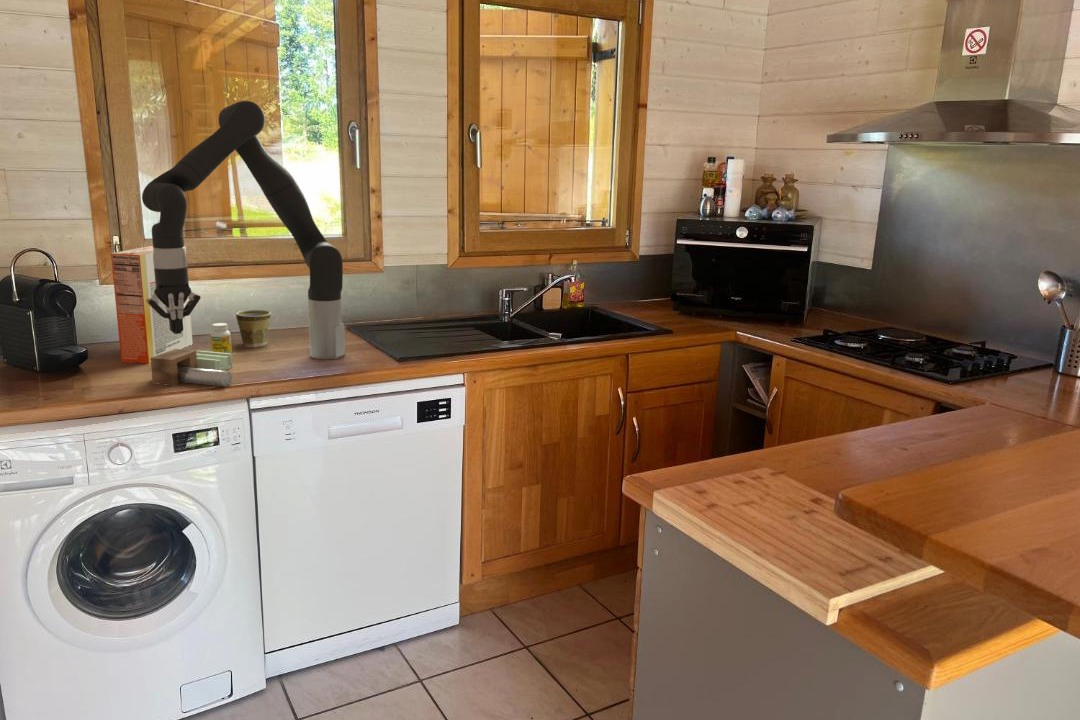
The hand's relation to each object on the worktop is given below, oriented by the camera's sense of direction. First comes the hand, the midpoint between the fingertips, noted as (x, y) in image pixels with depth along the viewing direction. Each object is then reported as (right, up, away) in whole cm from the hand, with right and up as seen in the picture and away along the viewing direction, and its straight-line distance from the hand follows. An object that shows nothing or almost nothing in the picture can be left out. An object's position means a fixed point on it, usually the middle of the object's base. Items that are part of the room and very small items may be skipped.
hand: (176, 333), depth 198 cm
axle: (+3, -13, +3) cm, 13 cm away
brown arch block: (-2, -12, +4) cm, 13 cm away
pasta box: (-19, -5, +29) cm, 34 cm away
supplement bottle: (0, -6, +27) cm, 28 cm away
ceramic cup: (+4, -2, +43) cm, 44 cm away
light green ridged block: (+2, -9, +14) cm, 17 cm away
